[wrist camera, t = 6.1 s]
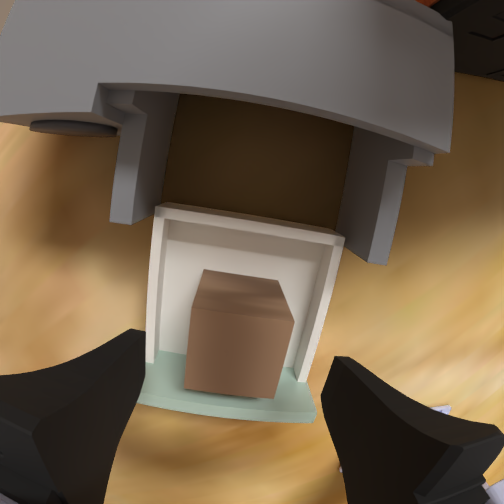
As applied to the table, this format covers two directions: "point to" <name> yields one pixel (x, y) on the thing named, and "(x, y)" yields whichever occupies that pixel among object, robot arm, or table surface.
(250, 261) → the drawer
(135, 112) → the box
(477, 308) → the table surface
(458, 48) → the radio cassette player
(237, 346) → the walnut block
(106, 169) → the table surface
